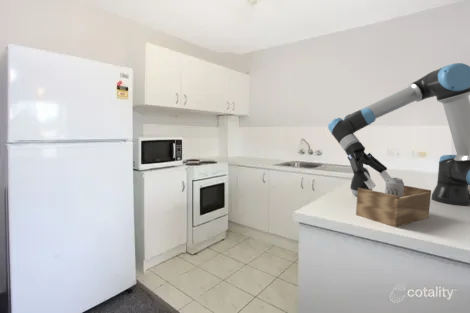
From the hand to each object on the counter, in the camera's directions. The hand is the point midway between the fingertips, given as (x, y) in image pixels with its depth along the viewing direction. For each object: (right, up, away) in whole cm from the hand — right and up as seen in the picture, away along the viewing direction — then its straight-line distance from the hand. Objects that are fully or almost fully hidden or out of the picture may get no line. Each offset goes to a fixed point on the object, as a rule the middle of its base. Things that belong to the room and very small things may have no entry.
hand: (383, 186), depth 103 cm
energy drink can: (+2, -12, -2) cm, 12 cm away
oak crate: (+3, -12, -2) cm, 12 cm away
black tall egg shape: (+6, -9, +31) cm, 33 cm away
